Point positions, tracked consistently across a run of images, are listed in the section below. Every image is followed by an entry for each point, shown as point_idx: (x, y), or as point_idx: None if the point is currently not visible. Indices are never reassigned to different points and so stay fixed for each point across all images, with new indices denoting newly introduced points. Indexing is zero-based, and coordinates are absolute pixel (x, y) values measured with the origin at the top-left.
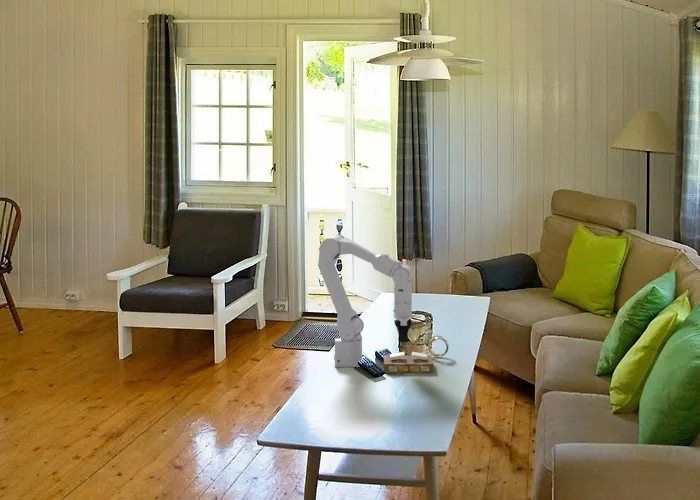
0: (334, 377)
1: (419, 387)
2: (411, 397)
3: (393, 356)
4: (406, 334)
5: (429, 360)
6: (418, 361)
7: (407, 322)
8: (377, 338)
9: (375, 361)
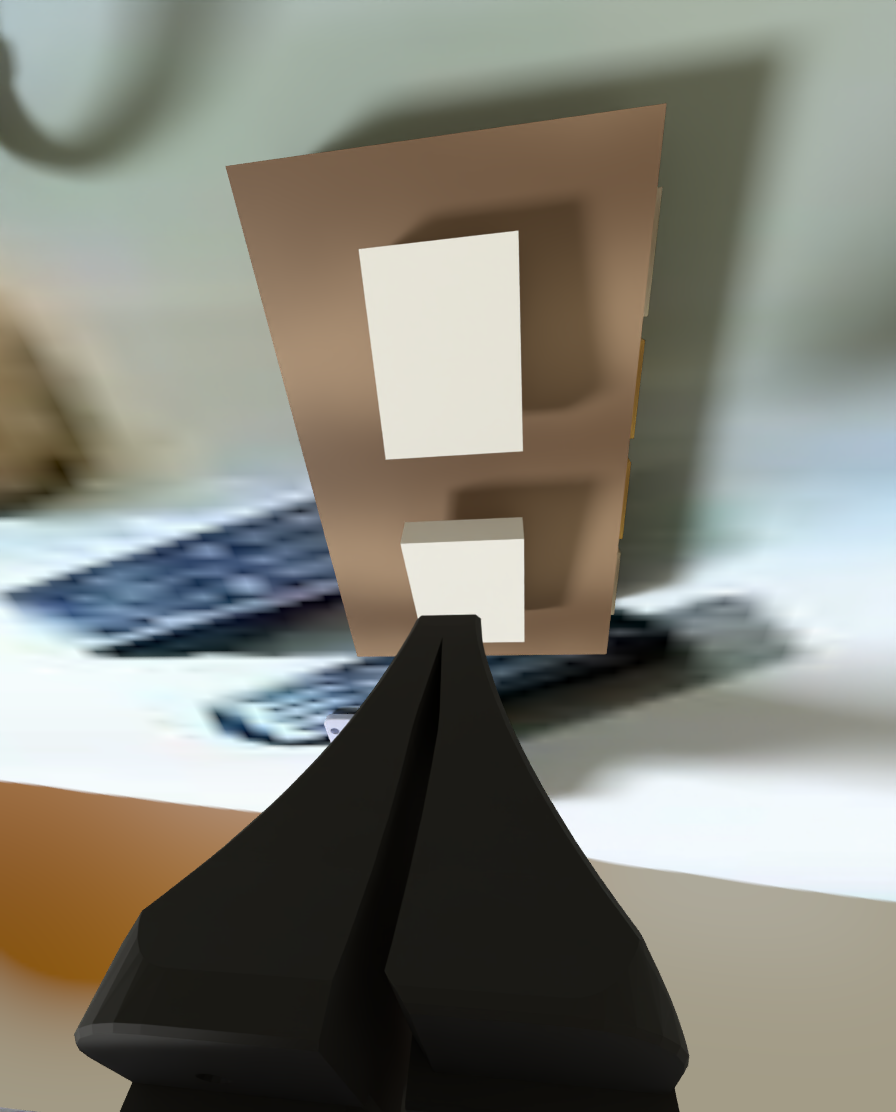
0: (654, 811)
1: None
2: None
3: (520, 622)
4: (493, 714)
5: (481, 188)
6: (529, 352)
7: (527, 1069)
8: None
9: (324, 654)
